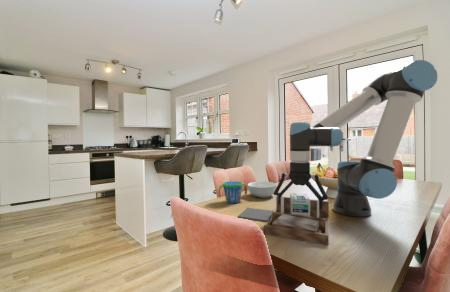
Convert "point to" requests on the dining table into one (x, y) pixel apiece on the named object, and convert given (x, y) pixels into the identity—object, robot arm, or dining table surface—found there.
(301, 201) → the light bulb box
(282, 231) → the open wooden box
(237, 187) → the snack cup
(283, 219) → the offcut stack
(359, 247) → the dining table surface
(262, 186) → the cereal bowl
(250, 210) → the mat
